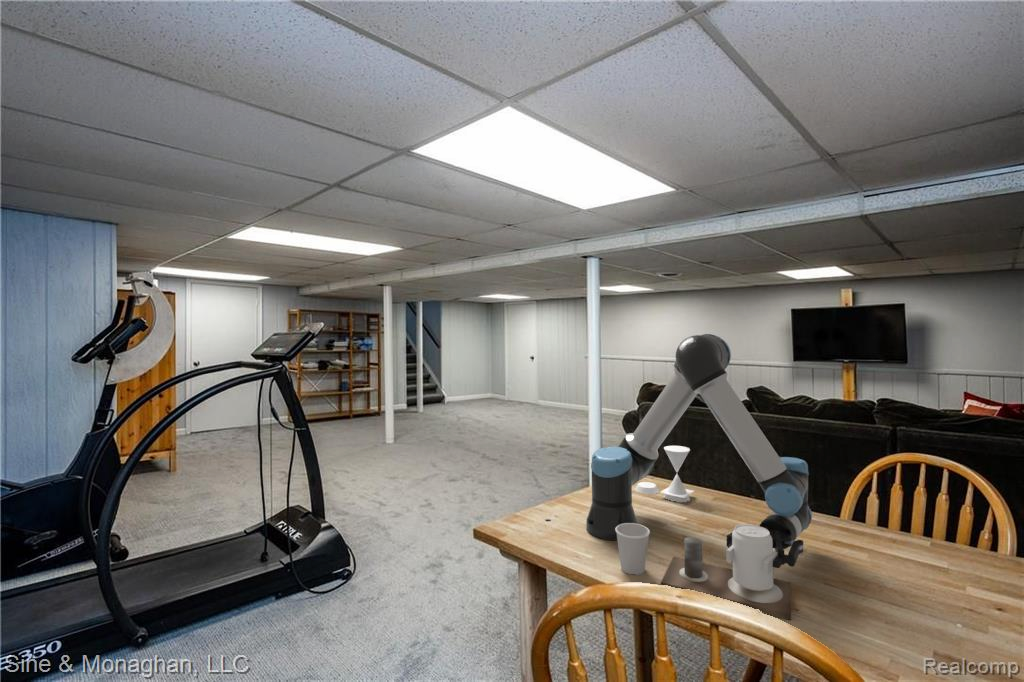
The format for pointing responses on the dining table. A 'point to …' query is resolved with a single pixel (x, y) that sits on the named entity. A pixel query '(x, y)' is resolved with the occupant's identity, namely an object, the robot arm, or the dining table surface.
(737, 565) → the beverage can
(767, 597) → the board
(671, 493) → the white plastic pieces
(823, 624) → the dining table surface
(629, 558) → the dixie cup
